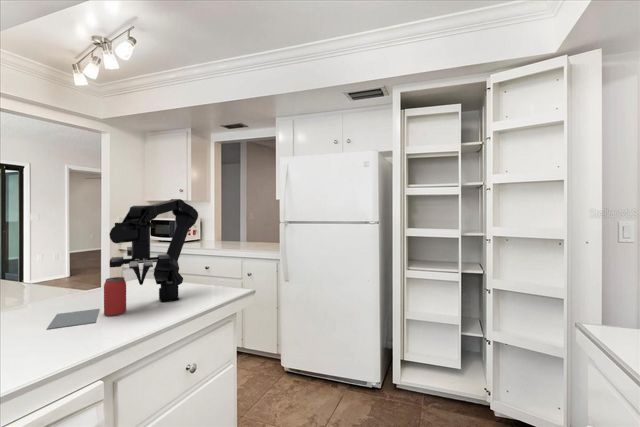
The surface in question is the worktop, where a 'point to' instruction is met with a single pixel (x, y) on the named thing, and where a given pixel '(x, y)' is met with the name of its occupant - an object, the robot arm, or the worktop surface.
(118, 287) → the beer can
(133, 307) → the worktop surface
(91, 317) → the mat
